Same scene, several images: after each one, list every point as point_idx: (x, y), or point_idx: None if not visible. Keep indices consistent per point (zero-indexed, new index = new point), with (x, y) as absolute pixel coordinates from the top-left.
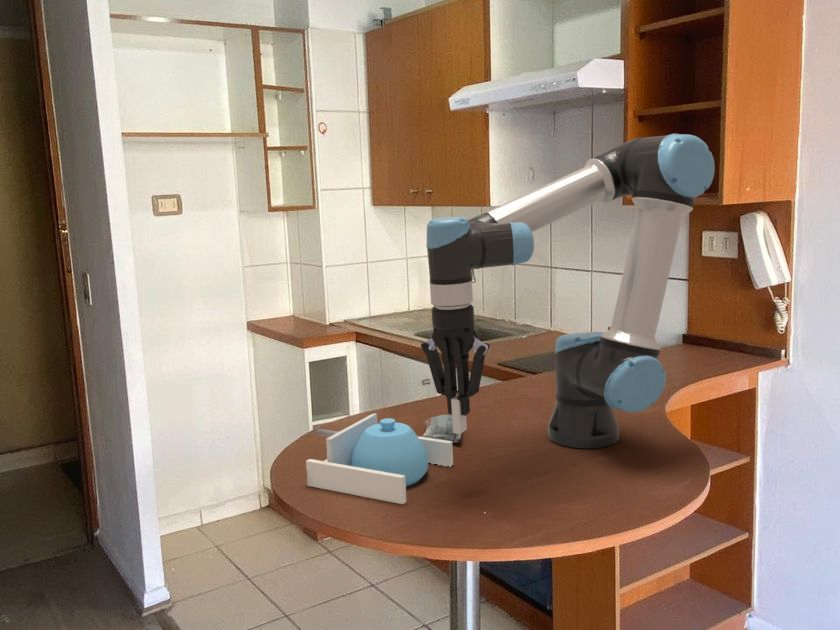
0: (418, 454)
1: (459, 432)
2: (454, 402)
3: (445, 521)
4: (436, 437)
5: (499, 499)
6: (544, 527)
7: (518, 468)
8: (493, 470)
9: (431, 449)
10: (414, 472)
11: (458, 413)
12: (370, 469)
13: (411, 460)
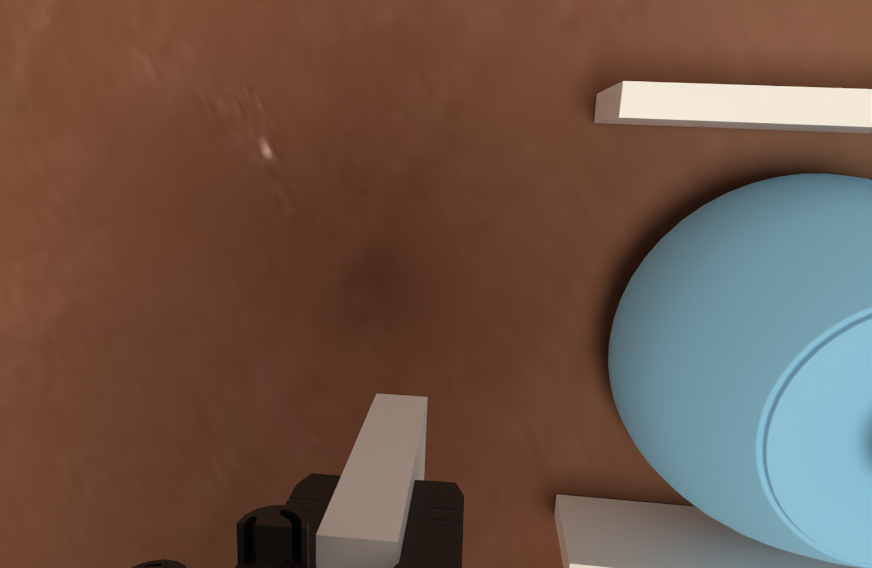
0: (651, 366)
1: (381, 396)
2: (368, 520)
3: (367, 12)
4: None
5: (263, 275)
6: (30, 110)
7: None
8: None
9: (658, 543)
10: (634, 288)
11: (354, 461)
12: (839, 124)
13: (664, 305)
